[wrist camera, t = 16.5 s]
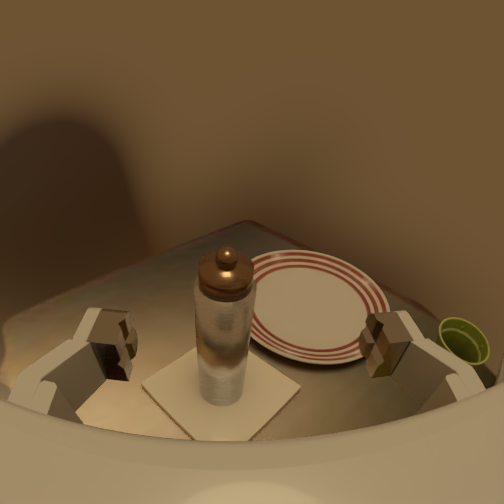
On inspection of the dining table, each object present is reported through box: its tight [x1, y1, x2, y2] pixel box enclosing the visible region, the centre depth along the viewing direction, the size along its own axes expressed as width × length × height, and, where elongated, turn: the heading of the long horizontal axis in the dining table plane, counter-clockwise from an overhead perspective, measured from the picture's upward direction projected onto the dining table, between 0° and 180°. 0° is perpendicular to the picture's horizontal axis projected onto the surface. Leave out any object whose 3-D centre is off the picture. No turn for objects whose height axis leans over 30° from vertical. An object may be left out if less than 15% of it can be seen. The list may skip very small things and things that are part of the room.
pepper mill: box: [194, 247, 257, 407], centre depth 28 cm, size 5×5×20 cm
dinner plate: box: [251, 250, 390, 365], centre depth 48 cm, size 27×27×3 cm
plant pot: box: [436, 317, 490, 369], centre depth 34 cm, size 9×9×9 cm
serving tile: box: [141, 346, 301, 441], centre depth 33 cm, size 14×14×1 cm
